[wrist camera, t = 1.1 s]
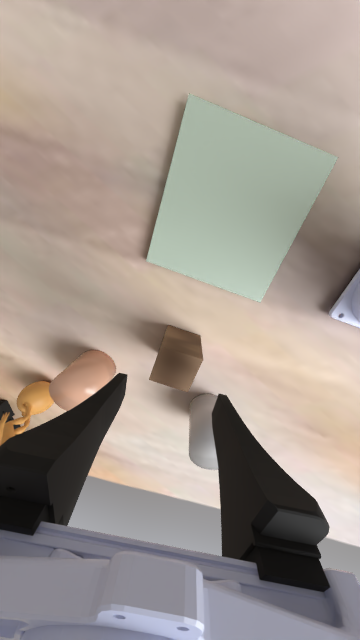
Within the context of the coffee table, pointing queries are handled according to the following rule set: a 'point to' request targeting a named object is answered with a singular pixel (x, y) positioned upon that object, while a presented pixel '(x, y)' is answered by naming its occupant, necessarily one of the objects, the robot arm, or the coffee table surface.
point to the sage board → (234, 199)
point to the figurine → (26, 408)
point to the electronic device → (3, 407)
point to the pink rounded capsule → (82, 379)
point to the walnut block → (178, 359)
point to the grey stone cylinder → (202, 432)
